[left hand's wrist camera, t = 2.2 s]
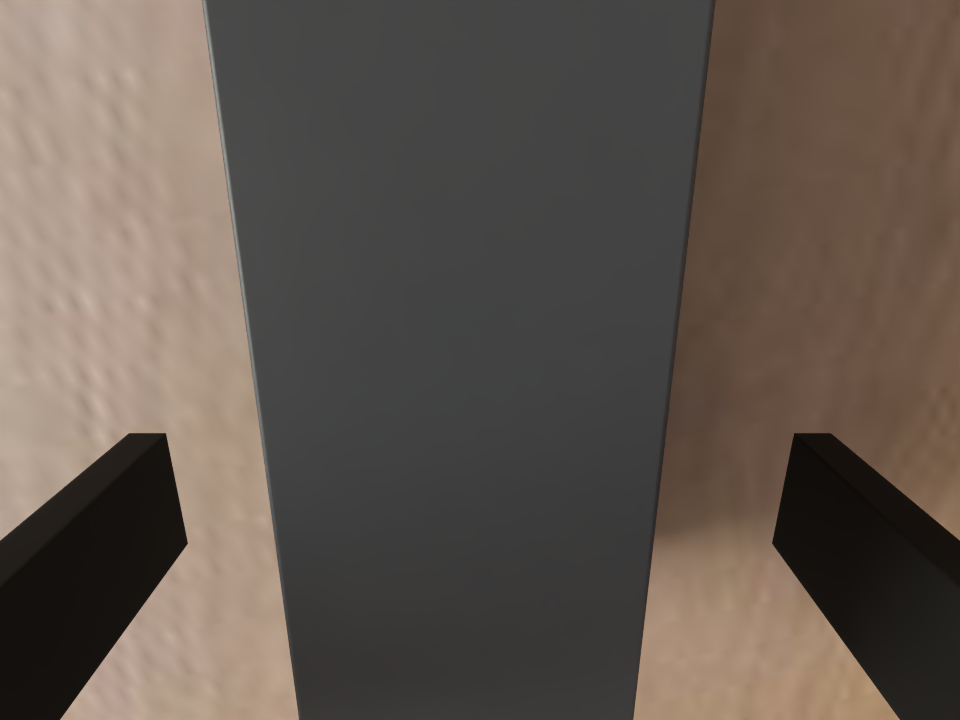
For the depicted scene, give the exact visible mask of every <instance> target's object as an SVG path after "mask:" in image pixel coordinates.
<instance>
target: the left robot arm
mask: <svg viewBox="0 0 960 720" xmlns="http://www.w3.org/2000/svg"><path fill="white" fill-rule="evenodd" d="M187 544H188V542H187V537H186V532H185V527H184V522H183V517H182V512H181V507H180V502H179V497H178V492H177V487H176V482H175V477H174V472H173V467H172V462H171V457H170V452H169V447H168V442H167V437H166V433H129V434H128V435H127V436H125V437H124V438H123V439H122V440H121V441H119V442H118V443H117V444H116V445H115V446H113V447H112V448H111V449H110V450H109V451H107V452H106V453H105V454H104V455H103V456H101V457H100V458H99V459H98V460H97V461H95V462H94V463H93V464H92V465H91V466H89V467H88V468H87V469H86V470H85V471H83V472H82V473H81V474H80V475H79V476H77V477H76V478H75V479H74V480H73V481H71V482H70V483H69V484H68V485H67V486H65V487H64V488H63V489H62V490H61V491H59V492H58V493H57V494H56V495H55V496H53V497H52V498H51V499H50V500H49V501H47V502H46V503H45V504H44V505H43V506H41V507H40V508H39V509H38V510H37V511H35V512H34V513H33V514H32V515H31V516H29V517H28V518H27V519H26V520H25V521H23V522H22V523H21V524H20V525H19V526H17V527H16V528H15V529H14V530H13V531H11V532H10V533H9V534H8V535H7V536H5V537H4V538H3V539H2V540H1V541H0V720H60V719H61V718H62V716H63V715H64V713H65V712H66V711H67V709H68V708H69V707H70V705H71V704H72V702H73V701H74V700H75V698H76V697H77V696H78V694H79V693H80V691H81V690H82V689H83V687H84V686H85V685H86V683H87V682H88V680H89V679H90V678H91V676H92V675H93V674H94V672H95V671H96V669H97V668H98V667H99V665H100V664H101V662H102V661H103V660H104V658H105V657H106V656H107V654H108V653H109V651H110V650H111V649H112V647H113V646H114V645H115V643H116V642H117V640H118V639H119V638H120V636H121V635H122V634H123V632H124V631H125V629H126V628H127V627H128V625H129V624H130V623H131V621H132V620H133V618H134V617H135V616H136V614H137V613H138V611H139V610H140V609H141V607H142V606H143V605H144V603H145V602H146V600H147V599H148V598H149V596H150V595H151V594H152V592H153V591H154V589H155V588H156V587H157V585H158V584H159V583H160V581H161V580H162V578H163V577H164V576H165V574H166V573H167V572H168V570H169V569H170V567H171V566H172V565H173V563H174V562H175V561H176V559H177V558H178V556H179V555H180V554H181V552H182V551H183V549H184V548H185V547H186V545H187ZM772 544H773V545H774V547H775V548H776V549H777V551H778V552H779V554H780V555H781V556H782V558H783V559H784V561H785V562H786V563H787V565H788V566H789V567H790V569H791V570H792V572H793V573H794V574H795V576H796V577H797V578H798V580H799V581H800V583H801V584H802V585H803V587H804V588H805V589H806V591H807V592H808V594H809V595H810V596H811V598H812V599H813V600H814V602H815V603H816V605H817V606H818V607H819V609H820V610H821V611H822V613H823V614H824V616H825V617H826V618H827V620H828V621H829V623H830V624H831V625H832V627H833V628H834V629H835V631H836V632H837V634H838V635H839V636H840V638H841V639H842V640H843V642H844V643H845V645H846V646H847V647H848V649H849V650H850V651H851V653H852V654H853V656H854V657H855V658H856V660H857V661H858V662H859V664H860V665H861V667H862V668H863V669H864V671H865V672H866V674H867V675H868V676H869V678H870V679H871V680H872V682H873V683H874V685H875V686H876V687H877V689H878V690H879V691H880V693H881V694H882V696H883V697H884V698H885V700H886V701H887V702H888V704H889V705H890V707H891V708H892V709H893V711H894V712H895V713H896V715H897V716H898V718H899V719H900V720H960V541H959V540H958V539H957V538H956V537H955V536H953V535H952V534H951V533H950V532H949V531H947V530H946V529H945V528H944V527H943V526H941V525H940V524H939V523H938V522H937V521H935V520H934V519H933V518H932V517H931V516H929V515H928V514H927V513H926V512H925V511H923V510H922V509H921V508H920V507H919V506H917V505H916V504H915V503H914V502H913V501H911V500H910V499H909V498H908V497H907V496H905V495H904V494H903V493H902V492H901V491H899V490H898V489H897V488H896V487H895V486H893V485H892V484H891V483H890V482H889V481H887V480H886V479H885V478H884V477H883V476H881V475H880V474H879V473H878V472H877V471H875V470H874V469H873V468H872V467H871V466H869V465H868V464H867V463H866V462H865V461H863V460H862V459H861V458H860V457H859V456H857V455H856V454H855V453H854V452H853V451H851V450H850V449H849V448H848V447H847V446H845V445H844V444H843V443H842V442H841V441H839V440H838V439H837V438H836V437H835V436H833V435H832V434H831V433H794V437H793V442H792V447H791V452H790V457H789V462H788V467H787V472H786V477H785V482H784V487H783V492H782V497H781V502H780V507H779V512H778V517H777V522H776V527H775V532H774V537H773V542H772Z"/></svg>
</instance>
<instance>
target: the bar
mask: <svg viewBox="0 0 960 720" xmlns="http://www.w3.org/2000/svg"><path fill="white" fill-rule="evenodd" d="M202 4H203V12H204V19H205V27H206V34H207V41H208V49H209V56H210V64H211V71H212V78H213V86H214V93H215V101H216V108H217V115H218V123H219V130H220V137H221V145H222V152H223V160H224V167H225V174H226V182H227V189H228V197H229V204H230V211H231V219H232V226H233V234H234V241H235V248H236V256H237V263H238V271H239V278H240V285H241V293H242V300H243V307H244V315H245V322H246V330H247V337H248V344H249V352H250V359H251V367H252V374H253V381H254V389H255V396H256V404H257V411H258V418H259V426H260V433H261V440H262V448H263V455H264V463H265V470H266V477H267V485H268V492H269V500H270V507H271V514H272V522H273V529H274V537H275V544H276V551H277V559H278V566H279V574H280V581H281V588H282V596H283V603H284V610H285V618H286V625H287V633H288V640H289V647H290V655H291V662H292V670H293V677H294V684H295V692H296V699H297V707H298V714H299V720H633V716H634V708H635V699H636V690H637V681H638V673H639V664H640V655H641V646H642V638H643V629H644V620H645V611H646V603H647V594H648V585H649V576H650V568H651V559H652V550H653V542H654V533H655V524H656V515H657V507H658V498H659V489H660V480H661V472H662V463H663V454H664V445H665V437H666V428H667V419H668V410H669V402H670V393H671V384H672V376H673V367H674V358H675V349H676V341H677V332H678V323H679V314H680V306H681V297H682V288H683V279H684V271H685V262H686V253H687V244H688V236H689V227H690V218H691V210H692V201H693V192H694V183H695V175H696V166H697V157H698V148H699V140H700V131H701V122H702V113H703V105H704V96H705V87H706V78H707V70H708V61H709V52H710V43H711V35H712V26H713V17H714V9H715V0H202Z"/></svg>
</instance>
